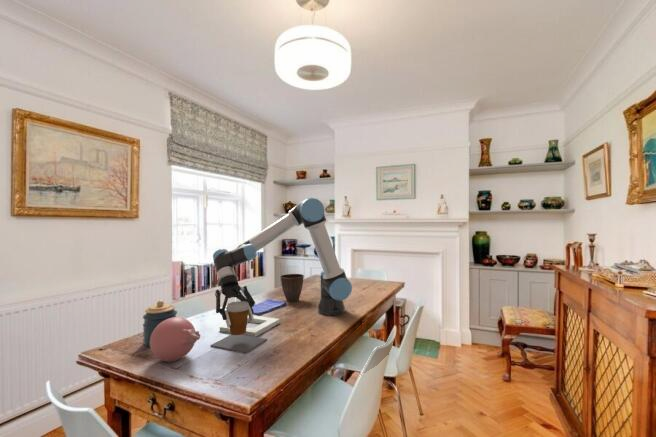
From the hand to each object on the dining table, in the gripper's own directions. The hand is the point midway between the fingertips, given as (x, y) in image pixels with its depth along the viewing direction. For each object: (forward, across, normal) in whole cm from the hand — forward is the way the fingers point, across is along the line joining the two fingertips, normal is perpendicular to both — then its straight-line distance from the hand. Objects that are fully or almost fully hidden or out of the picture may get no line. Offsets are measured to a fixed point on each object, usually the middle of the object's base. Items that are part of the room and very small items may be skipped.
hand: (241, 323), depth 126 cm
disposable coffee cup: (+1, 0, -6) cm, 6 cm away
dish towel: (-25, -31, -39) cm, 55 cm away
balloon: (+5, +23, -8) cm, 25 cm away
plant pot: (-27, -52, -40) cm, 71 cm away
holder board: (-7, -12, -20) cm, 24 cm away
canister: (-12, +26, -25) cm, 38 cm away
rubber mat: (+4, 0, -9) cm, 10 cm away
